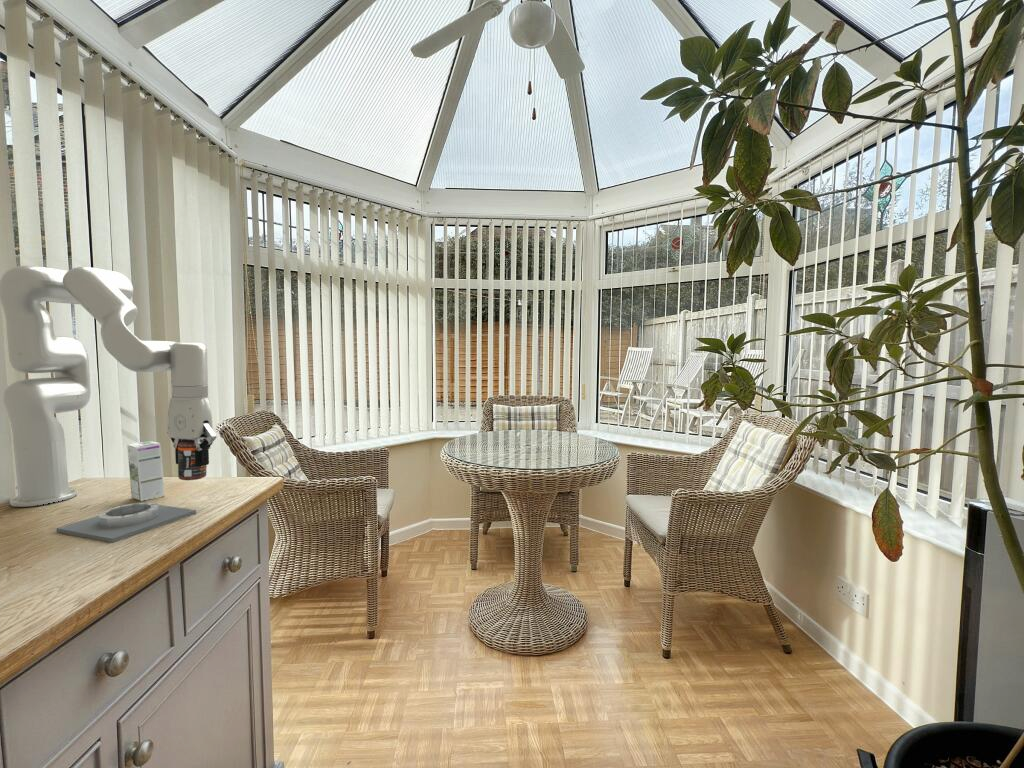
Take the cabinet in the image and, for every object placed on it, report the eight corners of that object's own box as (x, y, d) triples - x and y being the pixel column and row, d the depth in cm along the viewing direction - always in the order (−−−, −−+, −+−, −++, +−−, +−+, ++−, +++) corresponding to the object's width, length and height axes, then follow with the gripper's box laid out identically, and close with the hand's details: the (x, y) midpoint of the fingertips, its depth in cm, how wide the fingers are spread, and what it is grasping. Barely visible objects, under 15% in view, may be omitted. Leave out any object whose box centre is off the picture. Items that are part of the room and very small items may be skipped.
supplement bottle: (192, 482, 118) (191, 436, 117) (172, 480, 119) (170, 434, 118) (212, 475, 124) (211, 431, 123) (192, 473, 125) (191, 430, 124)
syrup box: (165, 496, 129) (162, 442, 128) (139, 502, 124) (135, 446, 123) (156, 492, 132) (152, 440, 131) (130, 498, 127) (126, 444, 126)
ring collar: (88, 524, 107) (87, 515, 107) (138, 508, 117) (137, 500, 116) (119, 529, 103) (119, 520, 103) (168, 513, 113) (168, 505, 113)
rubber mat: (56, 531, 105) (56, 528, 104) (143, 505, 121) (143, 502, 121) (112, 542, 99) (112, 538, 98) (196, 513, 115) (195, 510, 115)
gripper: (150, 392, 119) (152, 464, 121) (201, 396, 114) (203, 471, 115) (180, 389, 126) (182, 457, 128) (229, 393, 121) (231, 464, 122)
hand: (192, 463), depth 121 cm, fingers closed on supplement bottle, 6 cm apart
